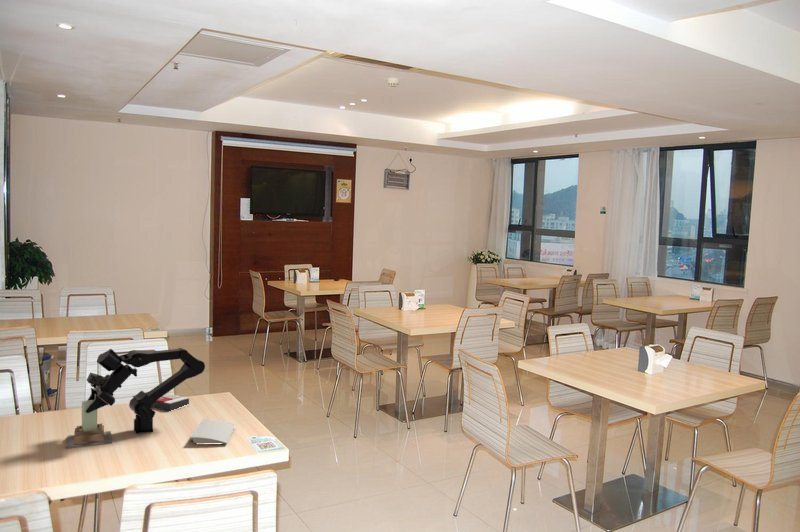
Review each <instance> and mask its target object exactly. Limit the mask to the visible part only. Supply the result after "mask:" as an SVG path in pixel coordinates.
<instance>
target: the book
mask: <svg viewBox="0 0 800 532" xmlns="http://www.w3.org/2000/svg"><path fill="white" fill-rule="evenodd" d="M235 424H236V423H233V422H230V421H225V420H220V419H219V420H218V419H211V418H210V419H209V418H203V419H201V421H200V422H199V424H198V426H196V428H195V430H194V431H193V432H192V434H191V435H190V440H189V442H190V441H191V440H192V441H191V442H193V444H194V443H196V444H195V445H198V444H197V443H224V444H228V442H229V440H230V438H231V437H232V435H231V434H233V433H234V431H233V428H234V425H235ZM232 432H233V433H232ZM230 436H231V437H230Z"/></svg>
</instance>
